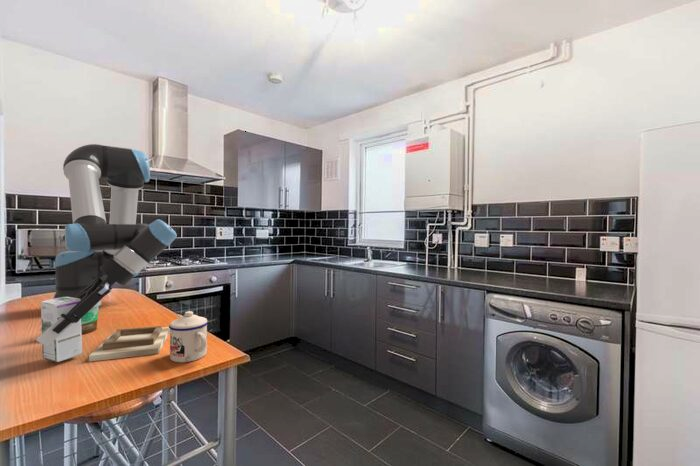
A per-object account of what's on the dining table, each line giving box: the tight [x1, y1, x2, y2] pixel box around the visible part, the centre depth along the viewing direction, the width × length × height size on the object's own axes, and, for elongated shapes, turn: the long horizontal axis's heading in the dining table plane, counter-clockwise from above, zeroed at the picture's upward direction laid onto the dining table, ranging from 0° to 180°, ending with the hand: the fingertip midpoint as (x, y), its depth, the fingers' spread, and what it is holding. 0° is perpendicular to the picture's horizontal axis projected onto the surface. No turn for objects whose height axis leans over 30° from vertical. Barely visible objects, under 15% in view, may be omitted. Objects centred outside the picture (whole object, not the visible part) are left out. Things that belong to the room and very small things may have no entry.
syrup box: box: [40, 297, 83, 363], centre depth 79 cm, size 6×6×14 cm
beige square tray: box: [88, 325, 170, 362], centre depth 90 cm, size 18×15×3 cm
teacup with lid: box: [168, 310, 209, 363], centre depth 83 cm, size 12×9×12 cm
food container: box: [81, 299, 102, 336], centre depth 99 cm, size 12×6×10 cm, turn 168°
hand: (43, 337), depth 77 cm, fingers closed on syrup box, 8 cm apart
